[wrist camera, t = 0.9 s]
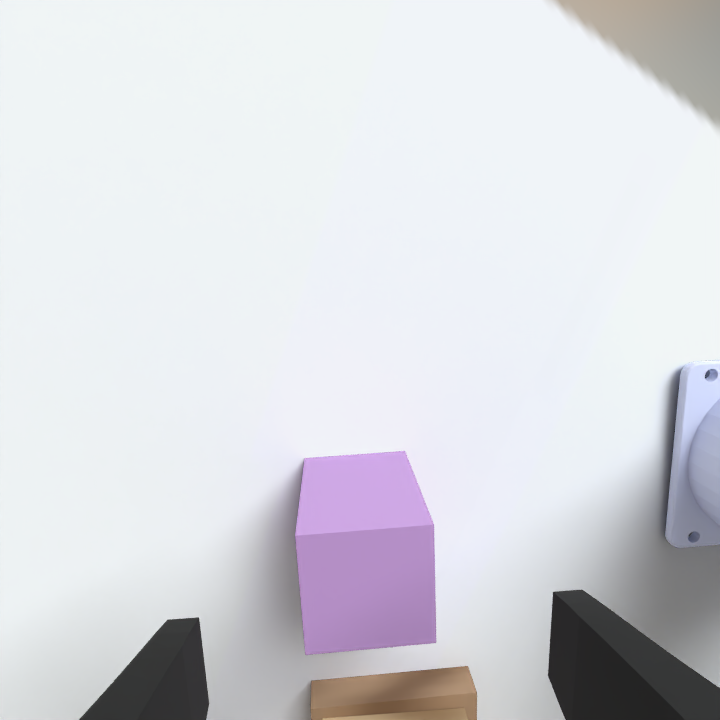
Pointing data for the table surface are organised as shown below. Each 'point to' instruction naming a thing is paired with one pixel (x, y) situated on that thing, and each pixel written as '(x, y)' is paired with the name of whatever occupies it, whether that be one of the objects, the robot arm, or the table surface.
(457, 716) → the oak tile
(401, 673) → the walnut tile
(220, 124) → the table surface
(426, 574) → the purple block
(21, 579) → the table surface
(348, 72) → the table surface
